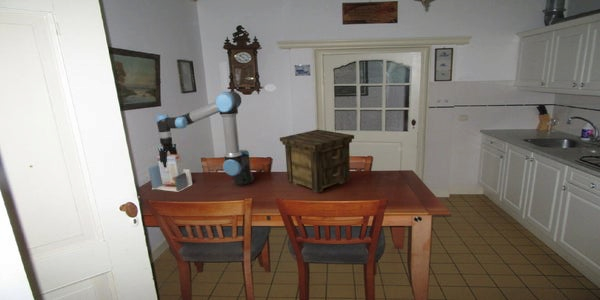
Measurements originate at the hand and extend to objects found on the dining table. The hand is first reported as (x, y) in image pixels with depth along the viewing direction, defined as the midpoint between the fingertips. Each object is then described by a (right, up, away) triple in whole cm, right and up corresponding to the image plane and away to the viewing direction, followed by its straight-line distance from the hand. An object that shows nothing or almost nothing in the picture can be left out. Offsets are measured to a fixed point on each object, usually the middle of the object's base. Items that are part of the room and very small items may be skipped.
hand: (171, 169), depth 213 cm
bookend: (+9, -13, -2) cm, 16 cm away
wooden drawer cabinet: (+103, -9, -2) cm, 103 cm away
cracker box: (+1, -10, +3) cm, 11 cm away
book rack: (0, -13, +3) cm, 14 cm away
